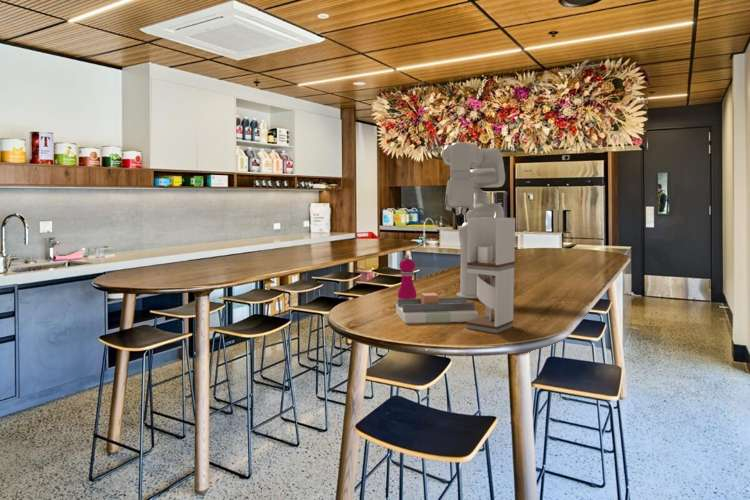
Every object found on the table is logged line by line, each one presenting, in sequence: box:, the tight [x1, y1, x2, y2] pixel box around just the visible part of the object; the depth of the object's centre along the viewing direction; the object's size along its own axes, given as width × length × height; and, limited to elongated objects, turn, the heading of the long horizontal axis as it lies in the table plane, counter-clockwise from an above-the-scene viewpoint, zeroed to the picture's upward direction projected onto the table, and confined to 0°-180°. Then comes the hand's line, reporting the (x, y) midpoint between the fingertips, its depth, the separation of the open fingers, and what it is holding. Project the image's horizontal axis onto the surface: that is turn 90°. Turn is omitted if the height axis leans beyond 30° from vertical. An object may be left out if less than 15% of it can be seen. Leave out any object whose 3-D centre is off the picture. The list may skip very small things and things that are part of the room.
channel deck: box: [395, 303, 479, 324], centre depth 186 cm, size 25×18×3 cm
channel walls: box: [397, 296, 476, 312], centre depth 186 cm, size 25×11×2 cm, turn 97°
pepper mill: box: [397, 254, 417, 299], centre depth 204 cm, size 7×7×20 cm
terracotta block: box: [420, 292, 439, 304], centre depth 185 cm, size 5×5×5 cm
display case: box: [465, 217, 516, 334], centre depth 169 cm, size 11×11×35 cm
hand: (459, 225), depth 199 cm, fingers closed
